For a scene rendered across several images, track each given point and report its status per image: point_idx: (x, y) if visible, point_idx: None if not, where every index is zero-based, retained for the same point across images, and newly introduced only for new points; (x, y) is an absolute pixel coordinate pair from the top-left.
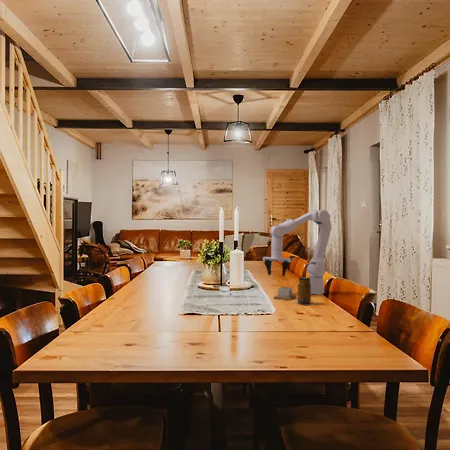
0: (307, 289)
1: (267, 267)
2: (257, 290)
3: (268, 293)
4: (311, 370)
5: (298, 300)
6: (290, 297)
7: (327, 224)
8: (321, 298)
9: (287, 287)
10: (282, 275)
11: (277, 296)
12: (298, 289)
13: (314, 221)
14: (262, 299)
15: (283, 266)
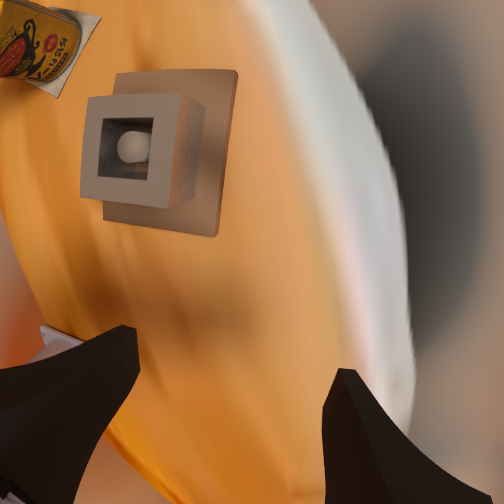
0: None
1: (398, 450)
2: (407, 376)
3: (328, 299)
4: None
5: (68, 18)
6: None
7: None
8: (14, 230)
9: (112, 181)
10: (130, 331)
11: (210, 94)
12: (26, 2)
13: None
14: (319, 25)
15: (16, 387)
